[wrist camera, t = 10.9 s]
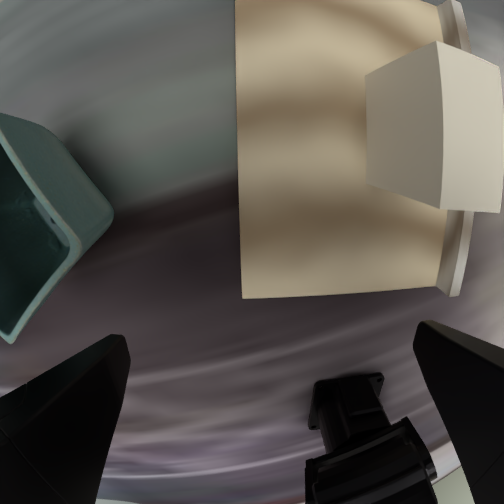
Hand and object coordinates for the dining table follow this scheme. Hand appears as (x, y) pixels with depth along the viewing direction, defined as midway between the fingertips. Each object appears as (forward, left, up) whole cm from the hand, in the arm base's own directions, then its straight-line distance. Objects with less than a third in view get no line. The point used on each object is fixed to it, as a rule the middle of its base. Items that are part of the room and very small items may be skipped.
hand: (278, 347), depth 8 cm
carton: (+7, -9, -11) cm, 16 cm away
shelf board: (+7, -7, -12) cm, 16 cm away
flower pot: (+3, +13, -12) cm, 18 cm away
